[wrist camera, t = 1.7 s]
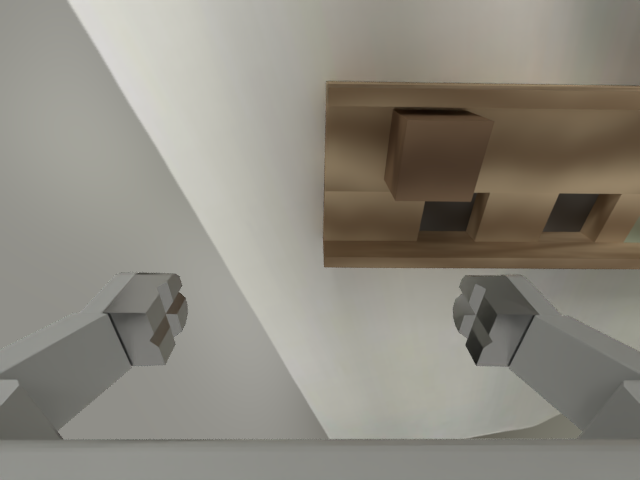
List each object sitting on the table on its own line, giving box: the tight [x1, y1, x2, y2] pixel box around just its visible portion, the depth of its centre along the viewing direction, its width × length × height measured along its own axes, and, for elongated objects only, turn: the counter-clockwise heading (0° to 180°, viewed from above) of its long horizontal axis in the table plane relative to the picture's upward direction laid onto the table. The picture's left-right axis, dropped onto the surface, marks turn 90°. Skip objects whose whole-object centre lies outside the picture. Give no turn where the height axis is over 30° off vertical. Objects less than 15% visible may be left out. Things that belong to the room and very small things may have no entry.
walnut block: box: [384, 109, 495, 202], centre depth 21 cm, size 5×5×4 cm
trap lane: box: [323, 81, 640, 269], centre depth 24 cm, size 13×33×4 cm, turn 89°
